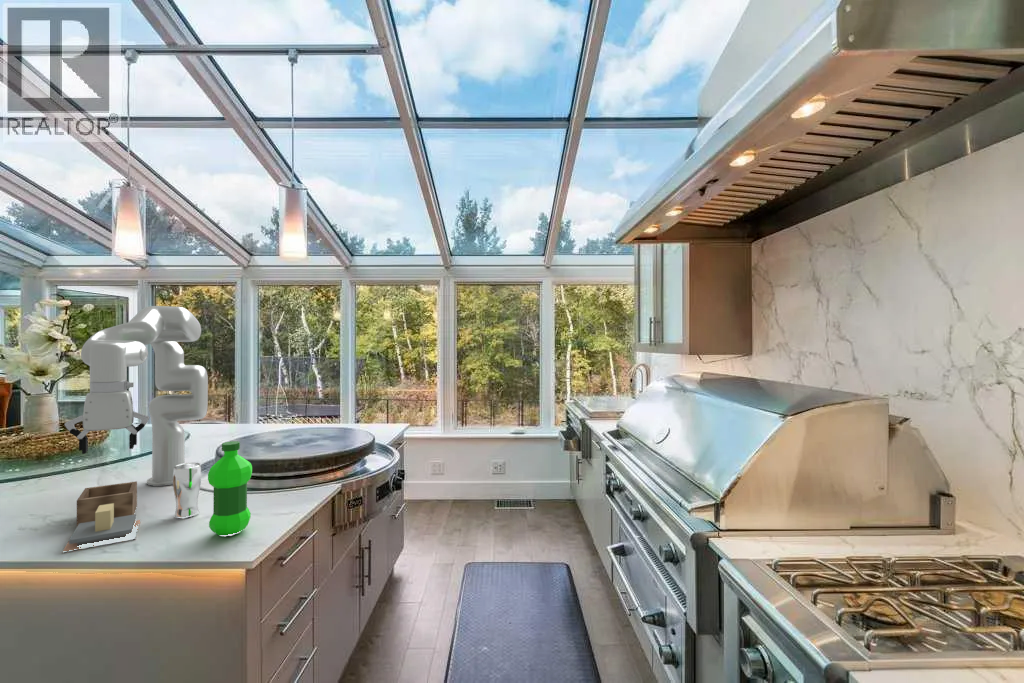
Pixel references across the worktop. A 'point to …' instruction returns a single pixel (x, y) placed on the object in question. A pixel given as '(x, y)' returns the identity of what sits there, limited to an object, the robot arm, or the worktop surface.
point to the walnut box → (107, 500)
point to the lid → (103, 526)
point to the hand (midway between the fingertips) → (108, 450)
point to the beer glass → (186, 488)
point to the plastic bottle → (230, 491)
